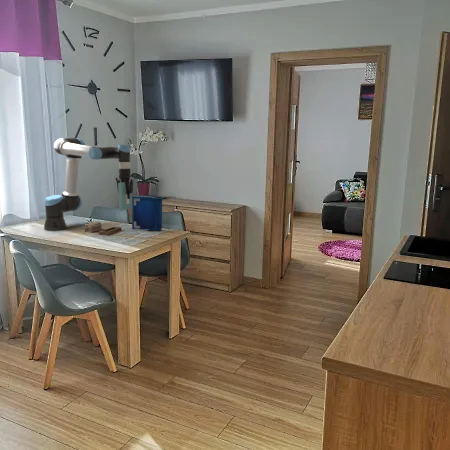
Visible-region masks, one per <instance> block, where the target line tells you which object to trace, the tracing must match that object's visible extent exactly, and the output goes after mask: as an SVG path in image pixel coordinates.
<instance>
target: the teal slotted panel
mask: <svg viewBox="0 0 450 450" xmlns="http://www.w3.org/2000/svg"><path fill="white" fill-rule="evenodd" d="M129 187H130V180H129ZM117 193H118V211H125V210H129V209H132V196H133V193H131V194H130V199H129V204H126V193H127V191H126V184H125V182H121V181H120V183H118V188H117Z"/></svg>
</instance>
